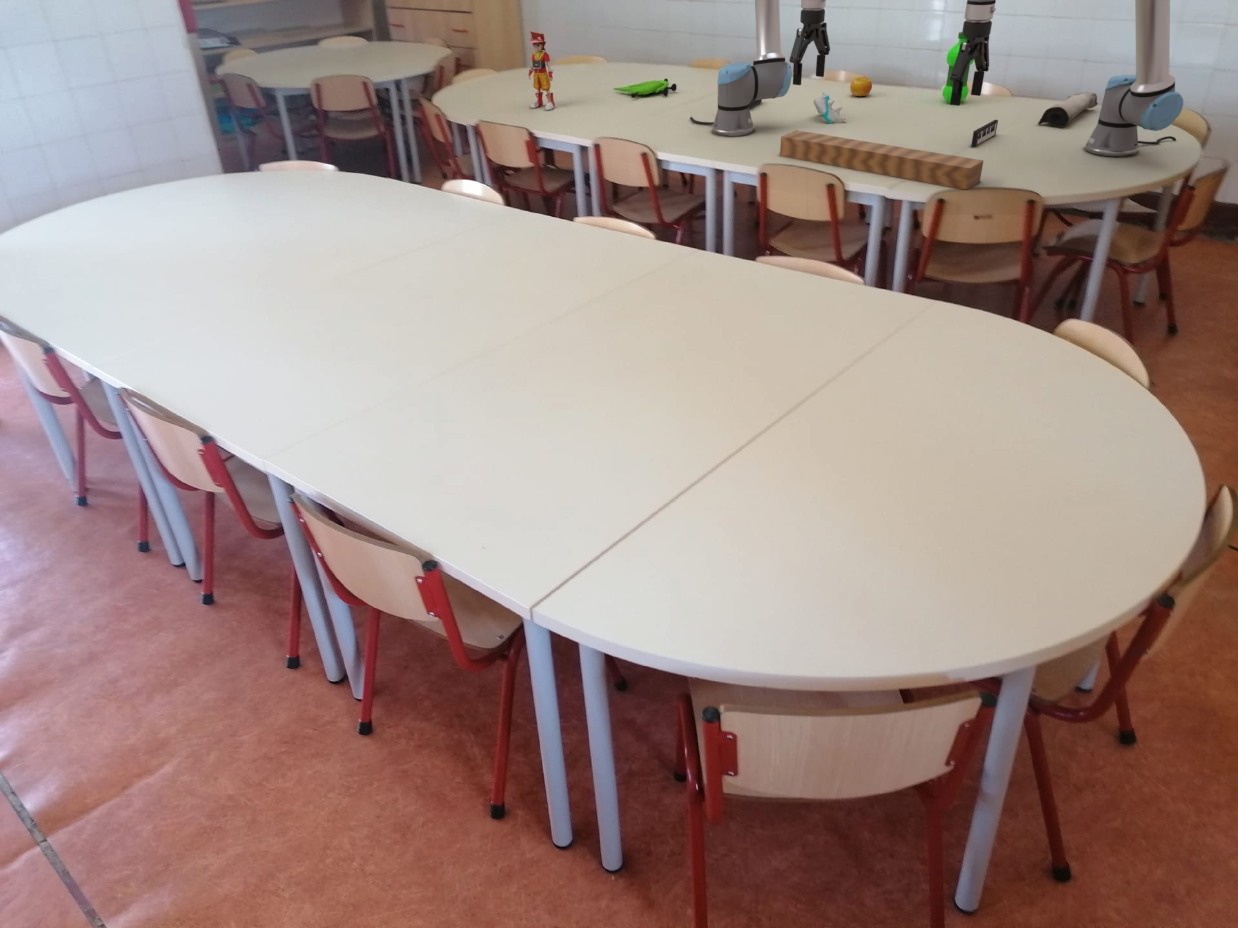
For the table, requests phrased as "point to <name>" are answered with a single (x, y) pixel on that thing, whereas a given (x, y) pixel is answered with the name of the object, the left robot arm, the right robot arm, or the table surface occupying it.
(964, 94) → the plastic bottle
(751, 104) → the disk drive
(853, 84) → the fruit
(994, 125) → the midi keyboard
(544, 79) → the toy
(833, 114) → the anatomical model
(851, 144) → the wide beam
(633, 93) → the toy
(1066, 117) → the rolled mat
